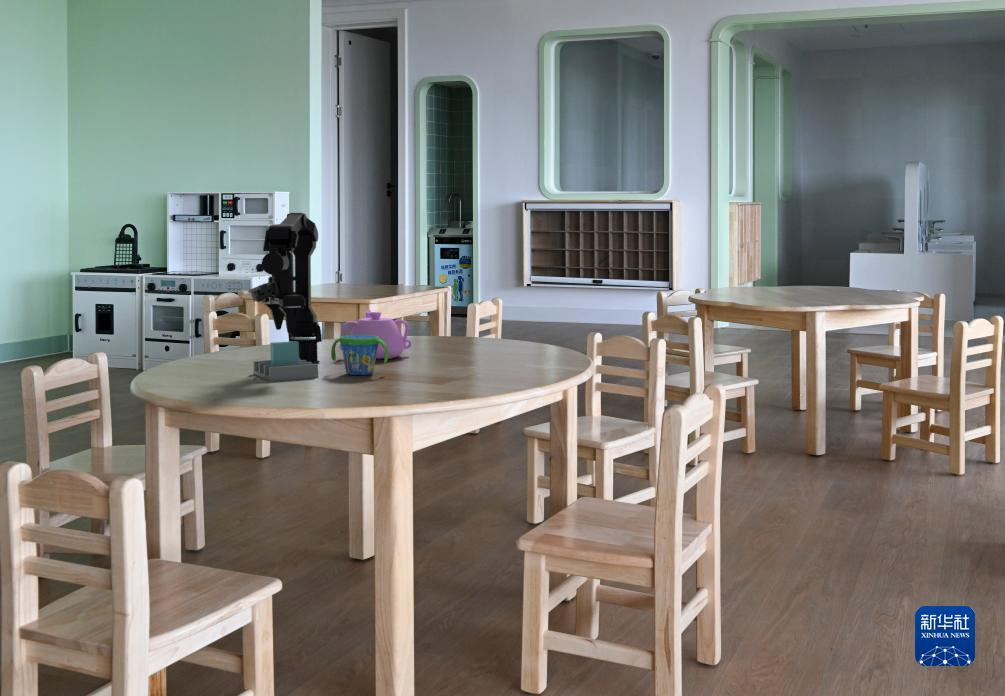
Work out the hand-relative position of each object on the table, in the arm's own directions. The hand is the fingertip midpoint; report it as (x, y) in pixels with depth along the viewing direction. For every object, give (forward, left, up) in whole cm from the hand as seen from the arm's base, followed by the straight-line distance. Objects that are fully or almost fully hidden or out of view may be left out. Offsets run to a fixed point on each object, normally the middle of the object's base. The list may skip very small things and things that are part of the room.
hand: (283, 331), depth 291 cm
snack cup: (-18, +8, -12) cm, 23 cm away
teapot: (-36, -24, -12) cm, 45 cm away
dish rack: (0, +1, -12) cm, 12 cm away
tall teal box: (0, +1, -11) cm, 11 cm away
